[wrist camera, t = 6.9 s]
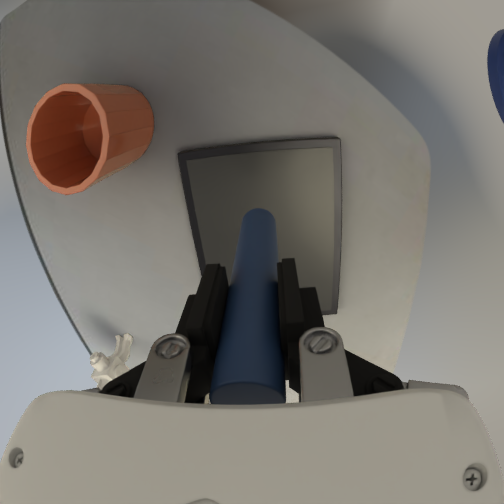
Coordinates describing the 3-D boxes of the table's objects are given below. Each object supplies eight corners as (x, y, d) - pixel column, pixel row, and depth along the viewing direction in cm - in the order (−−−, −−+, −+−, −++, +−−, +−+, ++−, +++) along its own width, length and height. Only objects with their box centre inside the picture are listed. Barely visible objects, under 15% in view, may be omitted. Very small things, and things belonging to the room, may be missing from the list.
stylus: (239, 209, 19) (200, 381, 7) (274, 206, 18) (285, 379, 7) (244, 240, 20) (216, 420, 8) (277, 237, 19) (286, 419, 8)
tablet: (180, 151, 26) (176, 153, 25) (338, 137, 25) (340, 138, 24) (213, 316, 36) (212, 322, 35) (335, 308, 34) (337, 314, 33)
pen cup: (76, 99, 23) (20, 106, 16) (148, 75, 23) (100, 67, 15) (90, 174, 28) (39, 202, 20) (160, 159, 27) (119, 183, 19)
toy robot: (133, 360, 41) (108, 421, 31) (103, 326, 38) (69, 386, 28) (151, 356, 40) (127, 421, 30) (121, 320, 37) (86, 385, 27)
